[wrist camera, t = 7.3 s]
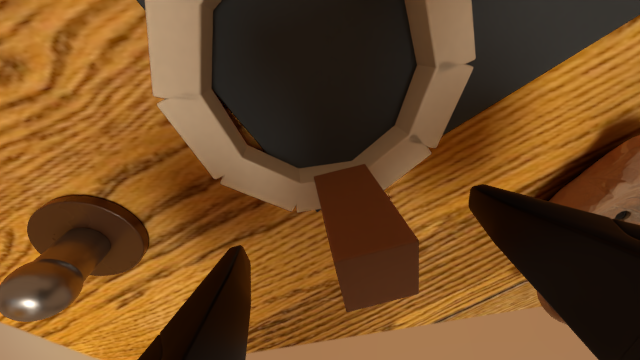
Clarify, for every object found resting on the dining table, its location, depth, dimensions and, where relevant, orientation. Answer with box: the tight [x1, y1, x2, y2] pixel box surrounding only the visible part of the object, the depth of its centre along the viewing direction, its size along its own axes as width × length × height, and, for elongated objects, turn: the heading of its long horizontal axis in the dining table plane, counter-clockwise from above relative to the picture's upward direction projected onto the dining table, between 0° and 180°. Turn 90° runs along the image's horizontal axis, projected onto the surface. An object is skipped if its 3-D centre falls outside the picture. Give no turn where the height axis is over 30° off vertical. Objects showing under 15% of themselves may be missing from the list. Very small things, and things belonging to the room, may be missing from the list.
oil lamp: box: [537, 135, 640, 324], centre depth 15 cm, size 13×8×5 cm, turn 167°
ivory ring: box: [145, 0, 476, 312], centre depth 8 cm, size 12×12×7 cm
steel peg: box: [0, 196, 148, 322], centre depth 11 cm, size 5×5×4 cm
